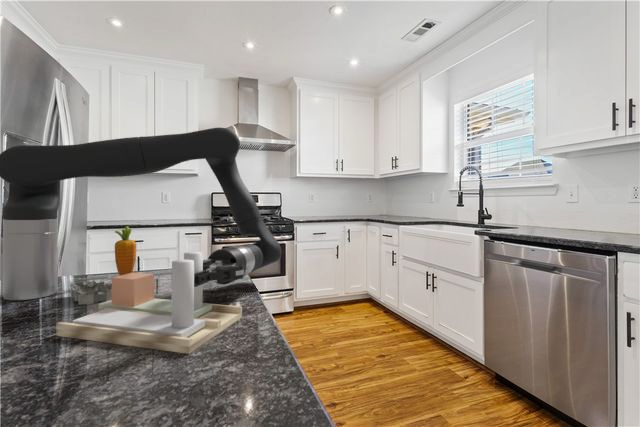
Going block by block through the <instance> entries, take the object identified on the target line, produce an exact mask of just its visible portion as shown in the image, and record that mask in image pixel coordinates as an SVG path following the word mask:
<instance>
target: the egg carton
mask: <svg viewBox="0 0 640 427" xmlns="http://www.w3.org/2000/svg"><path fill="white" fill-rule="evenodd" d="M69 287H70V298H71V299H74V302H78V305H79V306H80V305H93V304H94V303H97V302H98V303H99V302H106V301H109V300H112V282H106V281H104V280H100V281H98V282H96V280H94V279H93V280H92V281H90V280H88V281H87V280H86V281H82V280H81V281H69Z"/></svg>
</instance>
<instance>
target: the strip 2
mask: <svg viewBox="0 0 640 427" xmlns="http://www.w3.org/2000/svg"><path fill="white" fill-rule="evenodd" d="M183 260H194V273H197V272H200V271H203V260H204V253H203V252H202V251H189V252H188V251H187V252H184V253H183ZM203 285H204V284H202V285H199V286H197V287H194V317H199V316H201V315H202V314H204V313H206V312H208V311H210V310H212V304H213V303H209V304H207V302H203V301H204V300H203V294H204V293H203V289H204V288H203ZM155 298H156V297H154V300H151V301H148V302H146V303H143V304H140V305H138V306H135V307H132V306H122V305H112V300H109V301H102V302H100V303H98V307H97V309H98V310H99V309H100V308H103V307H106V308H115V309H124V310H134V311H143V312H152V313H162V314H171V315H172V299H167V300H165V298H157V299H155Z"/></svg>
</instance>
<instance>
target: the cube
mask: <svg viewBox="0 0 640 427" xmlns="http://www.w3.org/2000/svg"><path fill="white" fill-rule="evenodd" d="M111 283H112V305H122V306H132V307H135V306H138V305H140V304H143V303H146V302H148V301H151V300H154V298H155V273H144V272H132V273H129V274H125V275H121V276H120V275H118V276H114V277H111Z"/></svg>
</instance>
